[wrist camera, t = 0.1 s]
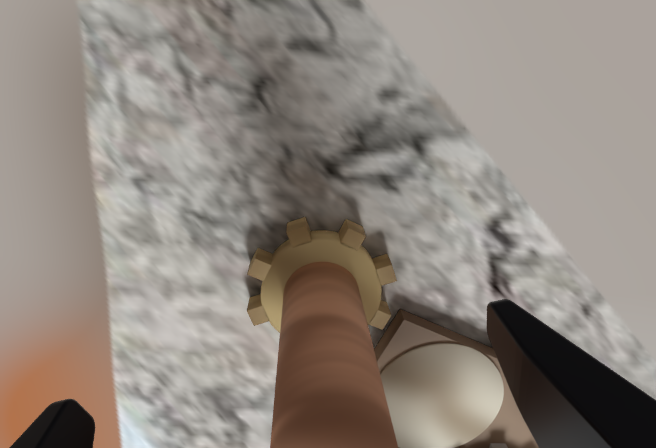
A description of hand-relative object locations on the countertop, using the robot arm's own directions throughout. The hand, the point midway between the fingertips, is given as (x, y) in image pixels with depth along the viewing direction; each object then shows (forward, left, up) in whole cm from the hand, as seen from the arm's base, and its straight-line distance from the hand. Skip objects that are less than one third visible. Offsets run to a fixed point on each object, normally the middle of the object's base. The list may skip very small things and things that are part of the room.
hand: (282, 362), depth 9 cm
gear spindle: (-5, -4, -15) cm, 17 cm away
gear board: (-12, -18, -15) cm, 27 cm away
